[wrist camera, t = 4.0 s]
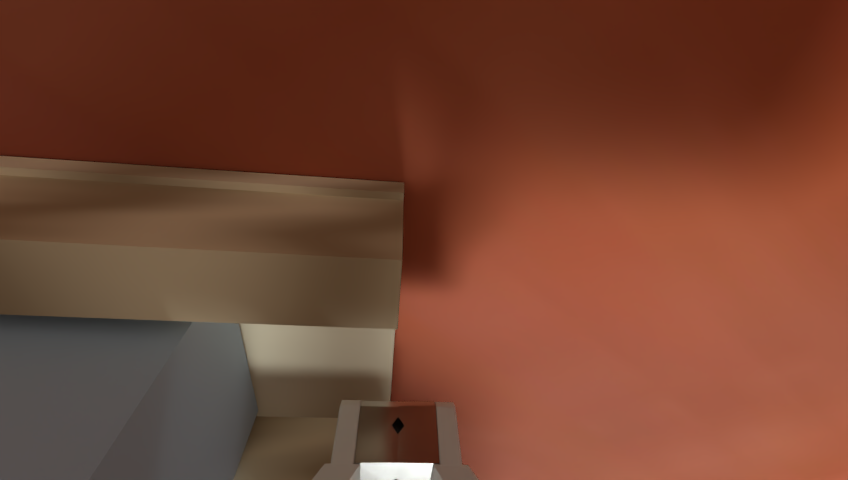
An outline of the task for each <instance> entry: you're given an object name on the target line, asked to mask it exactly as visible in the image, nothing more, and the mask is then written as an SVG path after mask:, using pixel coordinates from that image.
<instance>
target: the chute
mask: <svg viewBox="0 0 848 480" xmlns="http://www.w3.org/2000/svg"><path fill="white" fill-rule="evenodd" d="M403 204H404V183H403V182H388V181H373V180H358V179H343V178H328V177H313V176H298V175H283V174H268V173H253V172H238V171H223V170H207V169H192V168H177V167H162V166H147V165H132V164H117V163H102V162H87V161H72V160H57V159H42V158H27V157H12V156H0V314H2V315H29V316H55V317H82V318H108V319H135V320H161V321H188V322H215V323H239V327H240V331H241V336H242V340H243V345H244V349H245V354H246V358H247V363H248V367H249V371H250V376H251V380H252V385H253V389H254V394H255V398H256V402H257V407H258V412H257V415H256V418H255V421H254V424H253V426H252V429H251V432H250V435H249V437H248V440H247V443H246V446H245V449H244V451H243V454H242V457H241V460H240V463H239V465H238V468H237V471H236V474H235V476H234V479H233V480H312V479H313V478H314V476H315V475H316V474H317V473H318V471H319V470H320V469H321V468H322V466H323V465H324V464H329V463H331V457H332V451H333V445H334V439H335V433H336V427H337V421H338V414H339V408H340V404H341V401H342V400H363V401H390V398H391V383H392V368H393V352H394V337H395V329H397V328H398V314H399V300H400V286H401V272H402V252H403Z"/></svg>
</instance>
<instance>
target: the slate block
mask: <svg viewBox="0 0 848 480" xmlns="http://www.w3.org/2000/svg"><path fill="white" fill-rule="evenodd" d="M257 412H258V407H257V402H256V398H255V394H254V389H253V385H252V380H251V376H250V371H249V367H248V363H247V358H246V354H245V349H244V345H243V340H242V336H241V331H240V327H239V323H215V322H188V321H161V320H135V319H108V318H82V317H55V316H29V315H2V314H0V480H233V479H234V476H235V474H236V471H237V468H238V465H239V463H240V460H241V457H242V454H243V451H244V449H245V446H246V443H247V440H248V437H249V435H250V432H251V429H252V426H253V424H254V421H255V418H256V415H257Z"/></svg>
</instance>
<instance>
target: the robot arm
mask: <svg viewBox="0 0 848 480" xmlns="http://www.w3.org/2000/svg"><path fill="white" fill-rule="evenodd" d="M312 480H479V479H478V478H477V477H476V475H475V474H474V472H473V471H472V470H471V468H470V467H469V466H468V465H463V464H462V458H461V450H460V441H459V433H458V425H457V417H456V408H455V405H454V403H453V402H434V401H398V402H394V401H363V400H342V401H341V404H340V408H339V414H338V421H337V427H336V433H335V439H334V445H333V451H332V457H331V463H329V464H324V465H323V466H322V468H321V469H320V470H319V471H318V473H317V474H316V475H315V476H314V478H313V479H312Z"/></svg>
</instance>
